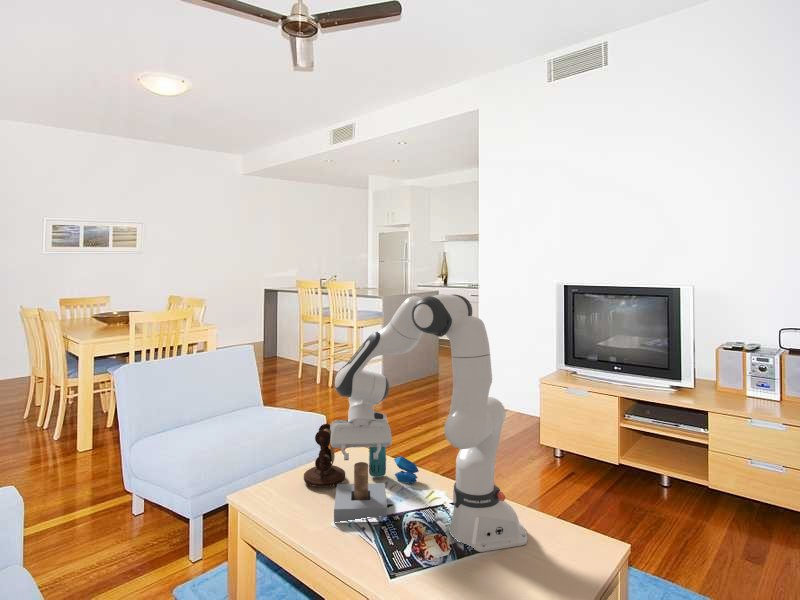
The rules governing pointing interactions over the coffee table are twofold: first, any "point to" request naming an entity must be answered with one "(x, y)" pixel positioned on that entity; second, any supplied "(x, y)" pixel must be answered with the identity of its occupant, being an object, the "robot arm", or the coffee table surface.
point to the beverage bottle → (377, 462)
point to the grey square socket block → (359, 503)
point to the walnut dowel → (361, 481)
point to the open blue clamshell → (407, 466)
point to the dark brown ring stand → (324, 463)
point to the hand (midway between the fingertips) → (361, 459)
